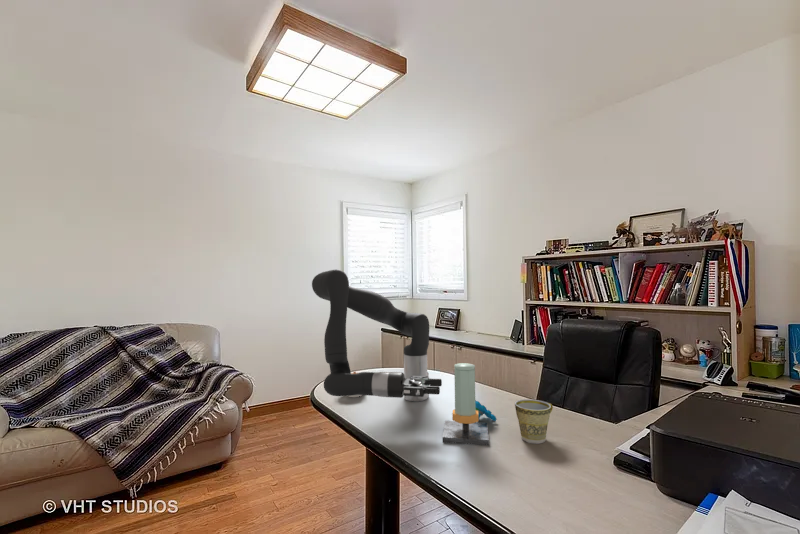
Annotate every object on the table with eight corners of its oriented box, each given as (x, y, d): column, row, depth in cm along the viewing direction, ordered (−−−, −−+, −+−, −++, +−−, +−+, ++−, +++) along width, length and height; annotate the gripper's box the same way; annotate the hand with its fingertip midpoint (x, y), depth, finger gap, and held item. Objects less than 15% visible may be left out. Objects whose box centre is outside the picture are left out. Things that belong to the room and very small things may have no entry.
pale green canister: (455, 408, 121) (454, 362, 121) (475, 409, 120) (474, 363, 120) (454, 415, 115) (454, 367, 115) (475, 416, 114) (474, 368, 114)
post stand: (445, 425, 125) (444, 368, 125) (486, 427, 122) (486, 370, 123) (442, 442, 112) (441, 379, 112) (489, 445, 110) (488, 380, 110)
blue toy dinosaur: (503, 420, 124) (480, 399, 124) (491, 436, 122) (469, 414, 122) (487, 413, 135) (467, 394, 134) (477, 427, 133) (456, 408, 133)
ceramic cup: (533, 449, 107) (533, 412, 107) (508, 436, 116) (507, 402, 116) (566, 439, 113) (565, 404, 113) (539, 428, 122) (539, 395, 122)
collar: (453, 413, 122) (453, 407, 122) (478, 415, 120) (478, 408, 120) (452, 422, 114) (452, 415, 114) (478, 424, 113) (478, 417, 113)
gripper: (383, 378, 115) (438, 380, 112) (392, 367, 129) (442, 368, 126) (383, 403, 114) (439, 406, 112) (392, 390, 129) (442, 391, 126)
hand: (440, 386), depth 119 cm, fingers open, 8 cm apart
